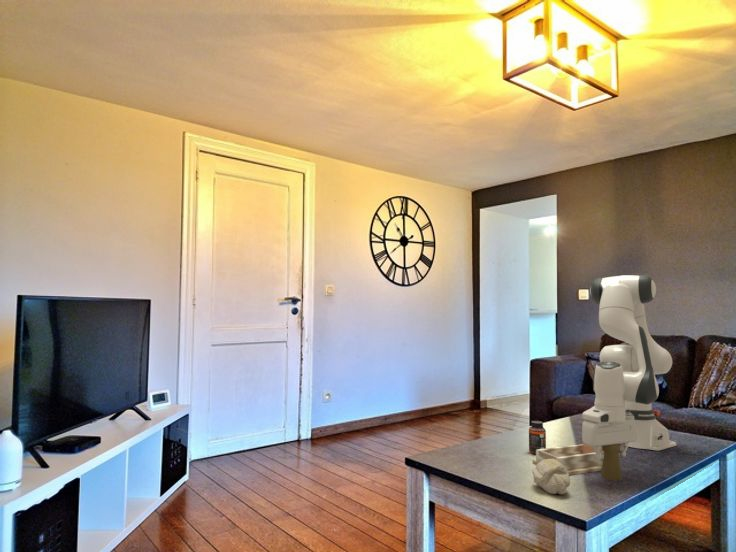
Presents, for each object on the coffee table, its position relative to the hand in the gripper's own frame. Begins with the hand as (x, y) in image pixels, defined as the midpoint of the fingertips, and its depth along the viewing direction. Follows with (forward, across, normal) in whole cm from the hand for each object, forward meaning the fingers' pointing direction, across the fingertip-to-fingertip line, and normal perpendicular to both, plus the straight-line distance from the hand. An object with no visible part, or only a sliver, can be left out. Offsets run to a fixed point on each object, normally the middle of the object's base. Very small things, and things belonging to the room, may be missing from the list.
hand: (610, 458), depth 151 cm
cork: (+6, 0, 0) cm, 6 cm away
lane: (+6, +2, -13) cm, 14 cm away
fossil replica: (+6, +26, +2) cm, 27 cm away
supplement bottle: (+6, +4, -29) cm, 30 cm away
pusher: (+5, -6, -13) cm, 15 cm away
